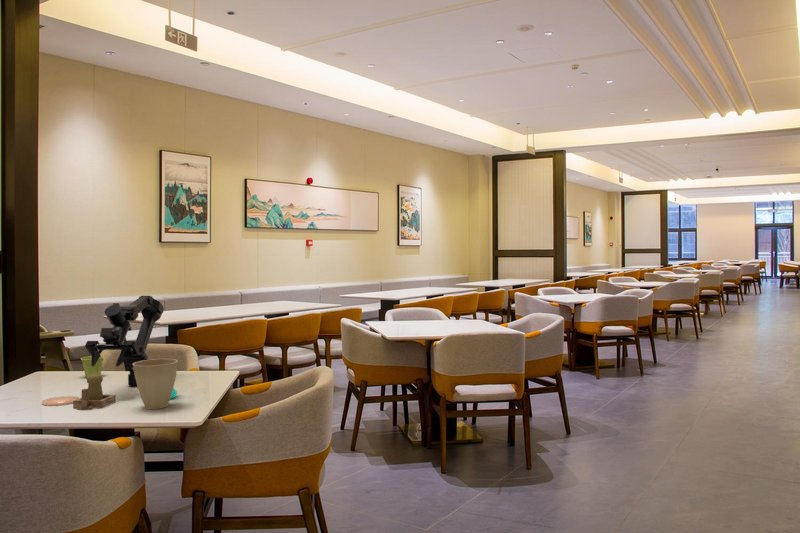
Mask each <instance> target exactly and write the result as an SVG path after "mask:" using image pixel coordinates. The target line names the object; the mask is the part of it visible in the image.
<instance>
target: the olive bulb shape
mask: <svg viewBox="0 0 800 533" xmlns="http://www.w3.org/2000/svg"><path fill="white" fill-rule="evenodd" d="M103 380H104V378H103V375H102V374H101V375H100V374H92V375H89V376H88V377H87V378H86V383H87V389H89V400H102V399H103V395H104V394H103V387H102V383H103Z"/></svg>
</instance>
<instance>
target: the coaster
mask: <svg viewBox="0 0 800 533" xmlns="http://www.w3.org/2000/svg"><path fill="white" fill-rule="evenodd" d="M79 398H80V397H78V396H72V395H69V396H68V395H65V396H57V397H50V398H46V399H43V400H42V401H41V405H43V406H48V407H53V406H54V407H58V405H60V406H65V405H66V404H67V405H73V401H75V400H77V399H79ZM67 405H66V406H67Z"/></svg>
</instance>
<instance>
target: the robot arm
mask: <svg viewBox="0 0 800 533" xmlns="http://www.w3.org/2000/svg"><path fill="white" fill-rule="evenodd" d="M164 309H165V308H164V306H163V304H162V303H161V301H159V300H157V299H155V298H154V297H153V296H152V295H140V296H139V297H138V298H137V299H136V300H134V301H132V302H131V303H129V304H125V305H121V306H120V304H119V302H113V303H112V304H111V305H109V306H108V307H107V308H105V309H104V314H105V316H106V318H107V320H108V322H109V324H110V325H113V326H112V327H102V328H101V329H100V334H99V337H100V338H102V341H103V343H100V342H99V341H98V340H87V341H86V343H85V345H84V347H85V349H86V350H87V351H88V354H89V355H90V356H92V367H94V365H95V364H96V363H97V361H98V359H99V358H100V356H102V355H101V354H102V352H103V351H120V353H119V355H118V358H117V360H116V364H115V366H116V367H117V368H118V367H119V366H121V365H122V364H123V365H124V371H125V372H129V373H128V374H127V385H128V386H129V388H135V387H137V383H136V379H135V375H134V369H133V363H135V362H139V361H144V360H149V359H148V358H149V357H148V353H147V347H148V344H149V341H150V338H151V335H152V333H153V332H152V331H153V328H154V327H155V326H154V325H155V323H157V321H159V320H160V319H161V317H162V315H163V313H164V311H165V310H164ZM139 313H141V315H142V322H141V324H140V328H139V329H138V333H137V336H136V340H127V337H126V336H127V334H128V332H129V331H132V327H131V323H130V322H134V321H136V320H137V318H138V317H139Z"/></svg>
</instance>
